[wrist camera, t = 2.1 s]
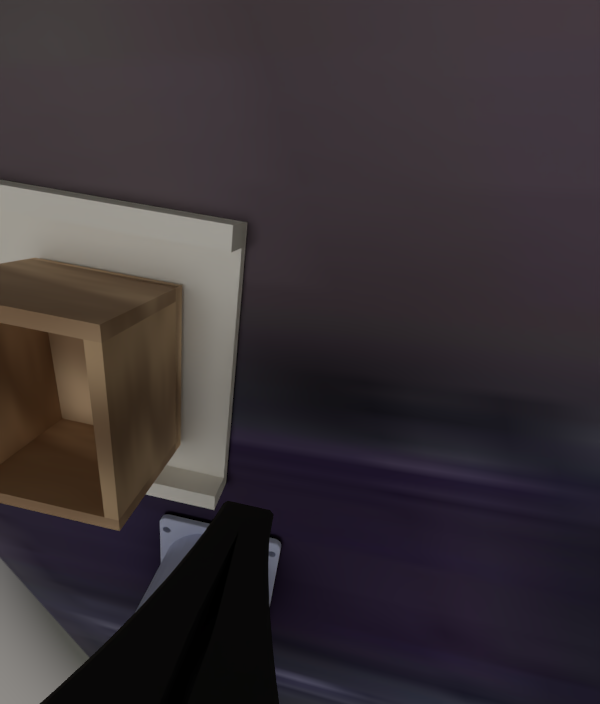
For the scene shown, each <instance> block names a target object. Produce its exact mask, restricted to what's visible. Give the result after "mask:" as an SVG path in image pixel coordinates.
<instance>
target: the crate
mask: <svg viewBox="0 0 600 704" xmlns="http://www.w3.org/2000/svg"><path fill="white" fill-rule="evenodd" d="M181 338H182V285H179V284H174V283H168V282H163V281H158V280H152V279H147V278H142V277H136V276H131V275H125V274H120V273H115V272H109V271H104V270H99V269H93V268H88V267H83V266H77V265H72V264H67V263H61V262H56V261H51V260H45V259H40V258H30V259H24V260H18V261H13V262H7V263H1V264H0V503H3V504H7V505H12V506H16V507H20V508H24V509H29V510H33V511H37V512H41V513H46V514H50V515H54V516H58V517H63V518H67V519H71V520H75V521H80V522H84V523H88V524H92V525H97V526H101V527H105V528H109V529H114V530H118V531H120V530H121V528H122V527H123V526H124V524H125V523H126V521H127V520H128V519H129V517H130V516H131V514H132V513H133V511H134V510H135V509H136V507H137V506H138V504H139V503H140V501H141V500H142V499H143V497H144V496H145V494H146V493H147V492H148V490H149V489H150V487H151V486H152V484H153V483H154V482H155V480H156V479H157V477H158V476H159V475H160V473H161V472H162V470H163V469H164V467H165V466H166V465H167V463H168V462H169V460H170V459H171V457H172V456H173V455H174V453H175V452H176V450H177V449H178V448H179V446H180V445H181Z"/></svg>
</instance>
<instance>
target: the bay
mask: <svg viewBox="0 0 600 704" xmlns="http://www.w3.org/2000/svg"><path fill="white" fill-rule="evenodd" d="M247 224H248V222H242V221H236V220H231V219H225V218H219V217H213V216H208V215H202V214H196V213H190V212H184V211H179V210H173V209H167V208H161V207H156V206H150V205H144V204H138V203H132V202H127V201H121V200H115V199H109V198H104V197H98V196H92V195H86V194H81V193H75V192H69V191H63V190H57V189H52V188H46V187H40V186H34V185H29V184H23V183H17V182H11V181H6V180H0V264H1V263H7V262H13V261H18V260H24V259H30V258H40V259H45V260H51V261H56V262H61V263H67V264H72V265H77V266H83V267H88V268H93V269H99V270H104V271H109V272H115V273H120V274H125V275H131V276H136V277H142V278H147V279H152V280H158V281H163V282H168V283H174V284H179V285H182V338H181V445H180V446H179V448H178V449H177V450H176V452H175V453H174V455H173V456H172V457H171V459H170V460H169V462H168V463H167V465H166V466H165V467H164V469H163V470H162V472H161V473H160V475H159V476H158V477H157V479H156V480H155V482H154V483H153V484H152V486H151V487H150V489H149V490H148V492H147V493H146V495H150V496H155V497H159V498H164V499H168V500H172V501H177V502H181V503H186V504H190V505H194V506H199V507H203V508H208V509H212V510H214V509H215V507H216V505H217V502H218V500H219V498H220V496H221V493H222V491H223V489H224V487H225V484H226V478H227V466H228V453H229V441H230V429H231V417H232V405H233V393H234V381H235V369H236V357H237V345H238V332H239V320H240V308H241V296H242V284H243V272H244V260H245V248H246V236H247Z"/></svg>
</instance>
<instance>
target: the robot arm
mask: <svg viewBox="0 0 600 704" xmlns="http://www.w3.org/2000/svg"><path fill="white" fill-rule="evenodd" d="M272 520H273V513H272V512H271V511H270V510H266V509H262V508H257V507H253V506H248V505H244V504H239V503H235V502H231V501H227V502H225V503H224V504H223V505H222V507H221V509H220V510H219V512H218V513H217V515H216V516H215V518H214V519H213V520H212V522H211V523H210V524H209V523H205V522H200V521H196V520H192V519H187V518H183V517H178V516H174V515H170V514H166V515H163V516H162V518H161V520H160V553H161V564H160V566H159V568H158V570H157V572H156V574H155V576H154V578H153V579H152V581H151V583H150V585H149V587H148V589H147V591H146V593H145V595H144V597H143V598H142V600H141V602H140V604H139V606H138V608H137V610H136V612H135V613H134V614H133V615H132V617H131V618H130V619H129V620H128V621H127V622H126V623H125V624H124V625H123V626H122V627H121V628H120V629H119V630H118V631H117V632H116V633H115V634H114V635H113V636H112V637H111V638H110V639H109V640H108V641H107V642H106V643H105V644H104V645H103V646H102V647H101V648H100V649H99V650H98V651H97V652H96V653H95V654H93V655H92V656H91V657H90V658H89V659H88V660H87V661H86V662H85V663H84V664H83V665H82V666H81V667H80V668H79V669H77V670H76V671H75V672H74V673H73V674H72V675H71V676H70V677H69V678H68V679H67V680H66V681H65V682H63V683H62V684H61V685H60V686H59V687H58V688H57V689H56V690H55V691H54V692H52V693H51V694H50V695H49V696H48V697H47V698H46V699H45V700H44V701H43V702H41V703H40V704H279V699H278V691H277V683H276V675H275V666H274V657H273V647H272V635H271V623H270V602H271V597H272V592H273V586H274V581H275V576H276V571H277V566H278V560H279V555H280V550H281V543H280V541H278V540H277V539H274V538H270V532H271V526H272Z"/></svg>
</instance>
